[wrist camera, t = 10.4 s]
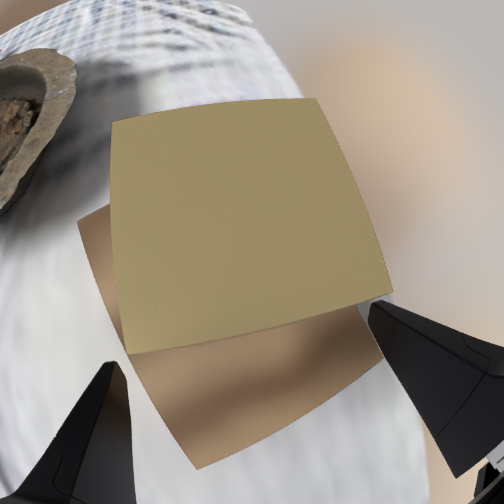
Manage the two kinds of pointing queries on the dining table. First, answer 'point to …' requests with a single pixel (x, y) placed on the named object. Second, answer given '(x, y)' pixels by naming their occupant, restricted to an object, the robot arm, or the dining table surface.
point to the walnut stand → (237, 368)
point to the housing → (235, 223)
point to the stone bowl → (30, 114)
